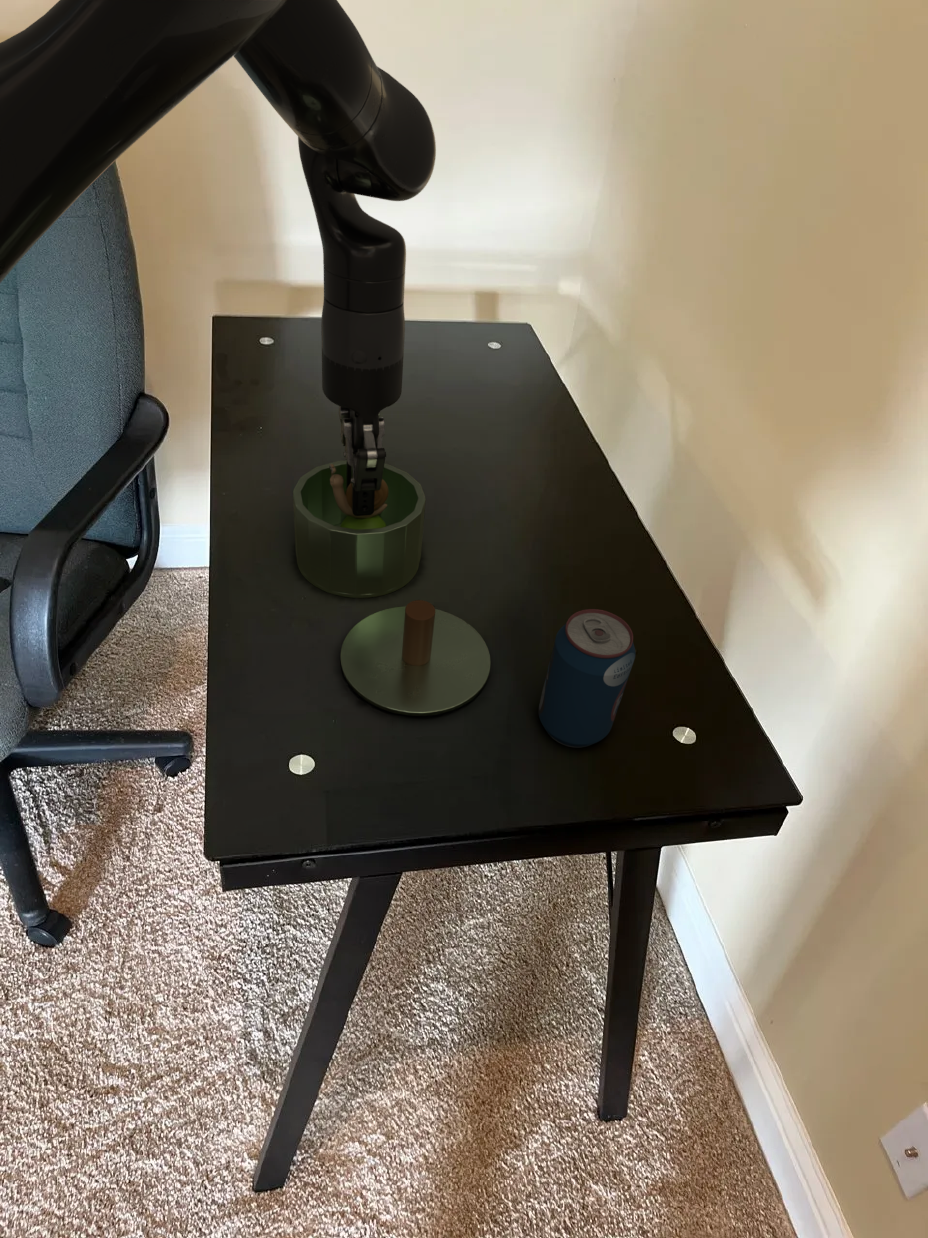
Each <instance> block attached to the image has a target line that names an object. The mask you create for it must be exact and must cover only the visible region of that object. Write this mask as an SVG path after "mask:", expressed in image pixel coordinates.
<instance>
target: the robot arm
mask: <svg viewBox="0 0 928 1238" xmlns="http://www.w3.org/2000/svg"><path fill="white" fill-rule="evenodd" d="M232 58H234V59H235V60H236V62H237V63H238V64H239V65H240V67H241V68H242V69H243V71H244V72H245V73H246V75H247V76H248V77H249V78H250V81H252V83H254V85H255V86H256V88H257V89H258V90H259V92H260V93H261V94H262V95H263V97H264V98H265V99H266V101H267V102H268V103H269V104H270V106H271V107H272V109H274V110H275V112H276V113H277V114H278V115H279V117H280V118H281V119H282V120H283V121H284V123H286V125H287V126H288V127H289V128H290V129H291V130H292V132H293V133H294V134H295V135H296V137H297V145H298V152H299V153H298V154H299V158H300V163H301V168H302V171H303V176H304V179H305V182H306V185H307V189H308V193H309V195H310V199H311V203H312V206H313V210H314V214H315V220H316V223H317V228H318V232H319V237H320V239H321V240H320V241H321V247H322V258H323V260H322V264H323V266H322V267H323V303H322V310H321V320H320V321H321V325H320V326H321V329H320V330H321V331H320V333H321V335H320V336H321V389H322V392H323V394H324V396H325V397H326V399H328V401H330V402H331V403H333V404H334V405H337V406H338V417H339V422H340V440H341V442H340V443H341V444H342V446H343V447H344V451H343V457H344V459H345V460H347V473H346V488H348V486H349V484H350V483H352V511H353V514H354V515H355V516H365V515H372V514H373V513H374V497H375V490H380V488H381V482H382V476H383V470H384V464H385V463H386V458H387V451H386V449H385V448H384V447H383V437H384V436H385V433H386V431H385V430H386V427H385V426H386V425H385V423H386V422H385V417H383V416H381V411H383V410H384V409H386V408H388V407H391V406H393V405H394V404H396V402H399V399H400V398H401V396H402V391H403V375H404V374H403V373H404V356H405V339H406V338H405V337H406V318H405V307H404V305H405V304H404V303H405V302H404V301H405V287H406V286H405V285H406V265H407V264H406V263H407V245H406V241H405V238H404V236H403V235H402V233H401V232H400V231H399V230H397V229H396V228H395V227H393V226H391V225H389V224H388V223H385V222H383V221H381V220H379V219H377V218H375V217H373V216H371V215H370V214H368V213H367V212H366V211H364V210H363V209H362V207H361V205H360V204H359V202H358V199H357V197H356V195H357V196H363V197H367V198H368V197H369V198H374V199H379V200H385V201H389V202H405V201H409V200H411V199H413V198H415V197H416V196H418V195H419V194H420V193H421V192H422V191H424V189H425V188H426V186H427V185H428V183H429V182H430V180H431V178H432V176H433V172H434V169H435V165H436V158H437V144H436V143H437V141H436V137H435V131H434V128H433V124H432V121H431V118H430V116H429V114H428V112H427V110H426V108H425V107H424V105H423V104H422V102H421V101H420V100H419V99H418V97H416V95H415V94H413V92H412V91H411V90H409V89H408V88H407V87H406V86H404V85H403V84H402V83H401V82H400V81H398V80H397V79H396V78H395V77H394V76H392V75H391V74H390V73H389V72H387V71H385V70H384V69H382V68H381V67H379V66H378V65H377V64H376V61H375V60H374V58H373V57H372V54H371V52H370V51H369V49H368V47H367V45H366V42H365V41H364V39H363V37H362V35H361V34H360V32H359V30H358V28H357V27H356V25H355V24H354V22H353V20H352V19H351V18H350V16H349V15H348V14H347V12H346V10H345V9H344V8H343V6H342V5H341V4H340V2H339V1H338V0H58V1H57V2H56V3H55V4H54V5H53V6H52V7H51V8H50V9H48V11H46V13H45V14H42V16H40V17H39V18H38V19H37V20H35V21H34V22H32V23H31V24H30V25H29V26H27V27H25V29H23V30H22V31H20V32H17V33H16V34H14V35H12V36H11V37H9V38H7V39H5V40H3V41H1V42H0V284H1V283H3V281H4V280H5V279H6V278H7V276H8V275H9V274H10V273H11V271H13V269H14V268H15V267H16V266H17V265H18V263H19V262H20V261H21V260H22V258H23V257H24V256H25V255H26V254H27V253H28V252H29V251H30V250H31V248H33V246H34V245H35V244H36V243H37V242H38V241H39V240H40V239H41V238H42V236H44V235H45V233H47V231H48V230H49V229H50V228H51V227H52V226H53V225H54V224H55V223H56V221H58V219H59V218H60V217H61V216H62V215H63V214H64V213H65V212H66V211H67V210H68V209H70V207H71V206H73V204H74V203H75V202H76V201H77V200H78V199H79V197H80V196H81V195H82V194H83V193H85V192H86V190H88V188H89V187H90V186H91V185H92V184H93V183H94V182H95V181H96V180H98V178H99V177H100V176H102V174H103V173H104V172H106V170H107V169H108V168H109V167H111V165H112V164H114V162H116V161H117V159H119V158H120V157H121V156H122V155H123V154H124V153H125V152H126V151H127V150H128V149H129V148H130V147H132V146H133V145H134V144H135V143H136V142H137V141H139V140H140V139H141V138H142V137H143V136H144V135H145V134H147V132H149V131H150V130H151V129H152V128H153V127H154V126H155V125H156V124H158V123H159V122H160V121H161V120H163V118H164V117H165V116H167V115H168V114H169V113H170V112H171V111H172V110H173V109H175V108H176V107H177V106H178V105H180V104H181V103H182V102H183V101H184V100H185V99H186V98H188V97H189V96H190V95H191V94H192V93H193V92H195V91H196V90H197V89H198V88H199V87H200V86H201V85H203V84H204V83H205V82H206V81H207V80H208V79H210V77H212V76H213V75H214V74H215V73H217V72H218V71H219V70H220V69H221V68H222V67H223V66H224V65H226V64H227V63H228V62H229V61H230V60H231V59H232Z"/></svg>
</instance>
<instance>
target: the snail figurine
mask: <svg viewBox="0 0 928 1238" xmlns="http://www.w3.org/2000/svg"><path fill="white" fill-rule="evenodd" d="M329 468H330V469H331V475H332V473H333V474H334V473H335V472H336V469H335V468H334V465H333V464H330V466H329ZM343 483H344V479H343V477H342V476H341V475H338V474H335V475H332V477H331V478H330V484H331V486H332V488H333V493H334V496H335V500H336V503H337V505H338V507H339V509H340V510H341V511H342V512H343V513H344V514H345V515H348V516H347V517H346V518H345V519H344V521H343V522H342V524H341V526H340V527H344V528H350V529H355V530H360V529H375V528H383V527H386V524H385V522H384V521H383V519H382V518H381V517H379V516H378V515H379V514H380V513H381V512H383V511H384V510H385V508H386V507H387V504H384V503H385V501H386V500H387V497H388V486H387V484H386V482H385V481H384V480H383V479H382V482H381V488H380V490H375V497H374V513H373V514H372V515H365V516H355V515H354V514H353V511H352V483H350V484H349V486H348V488H347V490H346V495H345V492H344V489H343Z"/></svg>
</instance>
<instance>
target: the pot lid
mask: <svg viewBox="0 0 928 1238" xmlns="http://www.w3.org/2000/svg"><path fill="white" fill-rule="evenodd" d="M339 661H340V667H341V671H342V675H343V677H344V678H345V680H346V682H347V684H348V685H349V686H350V688H351V689H352V690H353V691H354V692H355V693H356V694H357V695H358V696H359V697H360V698H362V700H364V701H366V702H368V703H369V704H371V705H372V706H374V707H377V708H379V709H381V710H384V711H387V712H388V713H389V712H390V713H393V714H398V715H402V716H411V717H426V716H429V717H430V716H436V715H441V714H446V713H449V712H452V711H455V710H456V709H459V708H461V707H463V706H465V705H466V704H468V703H469V702H471V701H472V700H474V698H476V697H477V696H478V695H479V693H481V691H483V689H484V687H485V686H486V683H487V681H488V680H489V676H490V672H491V655H490V651H489V648H488V646H487V643H486V642H485V640H484V638H483V636H482V635H481V634H480V633H479V632H478V631H477V630H476V629H475V628H474V627H473V626H472V625H471V624H469V623H468V622H467V621H465V620H464V619H462V618H460V617H458V616H457V615H455V614H452V613H449V612H448V611H445V610H441V609H437V608H435V606H434V605H433V604H432V603H431V602H429V601H426V600H423V599H417V600H412V601H410V602H408V603H407V605H406V606H405V605H404V606H403V605H402V606H396V607H395V606H394V607H389V608H386V609H382V610H380V611H376V612H375V613H372V614H370V615H368V616H366V617H364V618H363V619H361V620H360V621H359V622H357V623H356V624H354V626H352V628H351V629H350V630H349V631H348V633H347V635H346V636H345V638H344V640H343V642H342V645H341V649H340V659H339Z"/></svg>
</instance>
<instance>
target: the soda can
mask: <svg viewBox="0 0 928 1238" xmlns="http://www.w3.org/2000/svg"><path fill="white" fill-rule="evenodd" d="M633 633H634V632H633V630H632V628H631V627H630V625H629V624H628V623H627V622H626V621H625V620H624V619H623V618H621V617H620V616H618V615H617V614H615V613H612V612H610V611H607V610H604V609H597V608H596V609H595V608H588V609H587V608H586V609H582V610H578V611H576V612H574V613H573V614H571V615H570V617H568V619H567V620H566V623H564V624H563V625H562V626H561V627H560V628H559V630H558V631H557V632H556V635H555V638H554V641H553V646H552V651H551V655H550V659H549V663H548V666H547V671H546V675H545V680H544V684H543V687H542V690H541V691H542V692H541V695H540V699H539V704H538V709H537V711H538V712H537V713H538V718H539V720H540V723H541V725H542V727H543V728H544V730H545V731H546V734H548V735H549V736H550V738H551V739H553V740H554V741H556V742H557V743H558V744H560V745H562V746H566V747H569V748H577V749H578V748H580V749H581V748H586V747H590V746H593V745H595V744H597V743H599V742H601V741H602V740H603V739H604V738H606V737H607V736H608V735H609V733H610V732H611V730H612V727H613V725H614V722H615V719H616V716H617V713H618V710H619V706H620V703H621V701H622V698H623V696H624V692H625V689H626V686H627V683H628V680H629V677H630V674H631V671H632V668H633V665H634V663H635V659H636V648H635V644H634V634H633Z"/></svg>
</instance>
